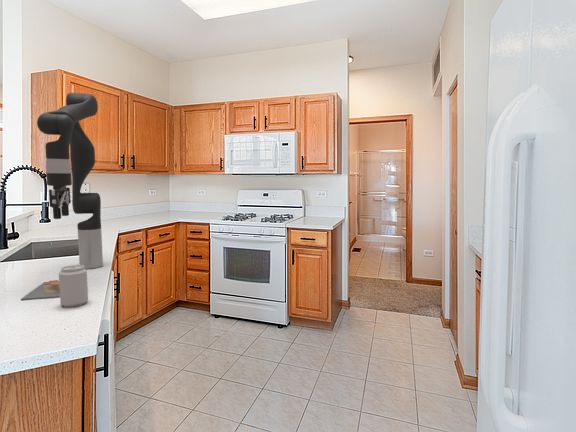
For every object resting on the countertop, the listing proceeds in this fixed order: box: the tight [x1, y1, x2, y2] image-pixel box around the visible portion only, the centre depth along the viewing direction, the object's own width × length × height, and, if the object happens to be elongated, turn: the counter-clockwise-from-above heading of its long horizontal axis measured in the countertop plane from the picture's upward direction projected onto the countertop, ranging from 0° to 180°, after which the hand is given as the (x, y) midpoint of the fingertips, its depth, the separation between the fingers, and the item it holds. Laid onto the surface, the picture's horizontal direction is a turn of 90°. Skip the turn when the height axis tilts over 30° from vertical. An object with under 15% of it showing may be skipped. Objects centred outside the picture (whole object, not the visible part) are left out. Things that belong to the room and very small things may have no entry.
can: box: [58, 264, 89, 308], centre depth 111 cm, size 8×8×12 cm
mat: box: [20, 281, 60, 301], centre depth 126 cm, size 20×14×1 cm
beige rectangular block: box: [44, 279, 60, 294], centre depth 122 cm, size 8×5×3 cm, turn 106°
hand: (61, 217), depth 127 cm, fingers open, 8 cm apart
